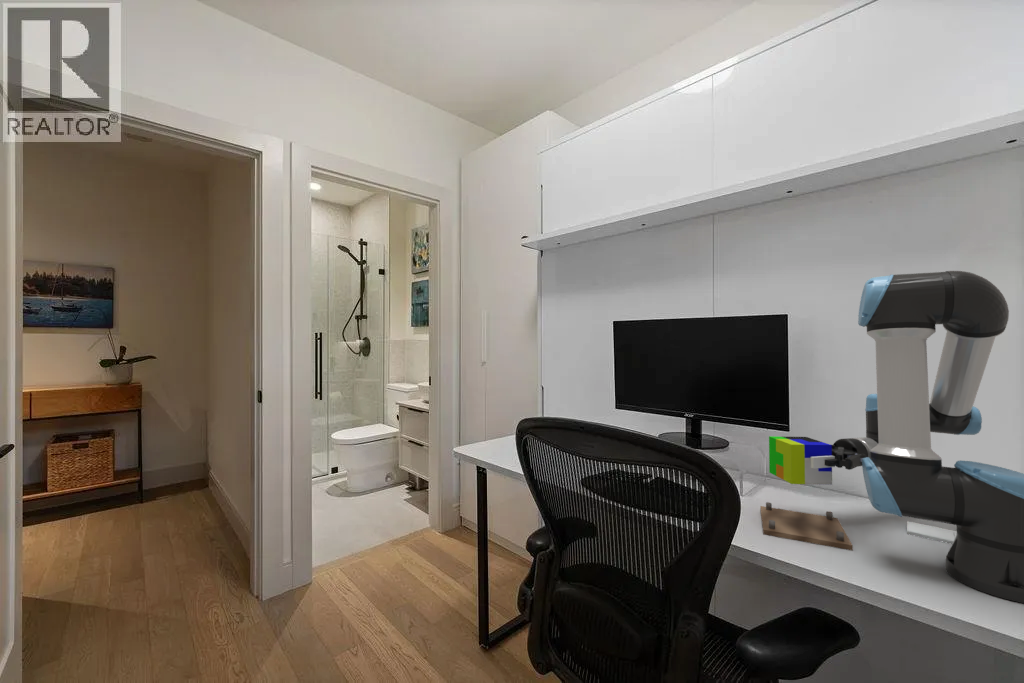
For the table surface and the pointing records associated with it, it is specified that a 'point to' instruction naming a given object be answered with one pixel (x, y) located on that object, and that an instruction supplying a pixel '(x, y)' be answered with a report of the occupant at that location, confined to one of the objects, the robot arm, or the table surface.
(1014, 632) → the table surface
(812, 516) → the base plate
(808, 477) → the puzzle toy
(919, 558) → the table surface
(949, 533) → the external hard drive
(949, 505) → the robot arm
